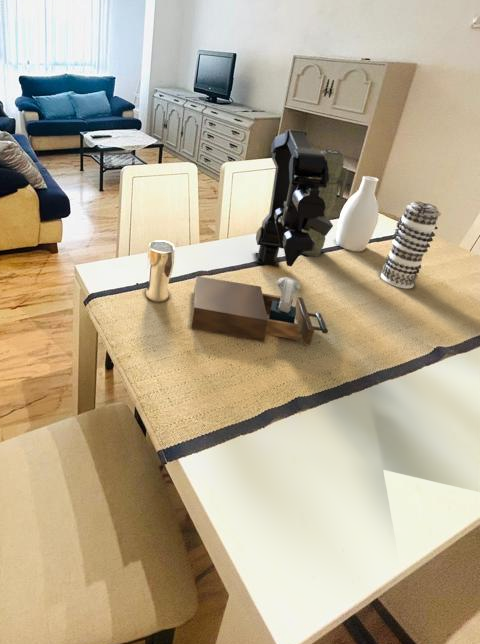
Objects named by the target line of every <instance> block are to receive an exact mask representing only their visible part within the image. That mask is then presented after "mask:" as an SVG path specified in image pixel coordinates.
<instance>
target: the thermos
mask: <svg viewBox="0 0 480 644" xmlns="http://www.w3.org/2000/svg"><path fill="white" fill-rule="evenodd" d="M320 152H321V153H322V154H323V155H324V156H325V159H326V160H327V164H328V170H329V181H328V182H327V187H326V188H324V187H319V191H320V192H319V195H320V196H321V197H322V199H323V200H324V202H325V210H324V213H325V215H324V217H327V219H329V220H330V217H331V213H332V210H333V208H334V207H335V205H336V202H337V201H339V200H342V199H343V196H344V192H345V189H346V185H347V182H348V180H349V176H350V172H349V170H348V168H346V167H344V165H345V164H344V161H345V157H344V156H345V155H344V153H343V152H342V151H341V150H337V149H331V148H325V149H322V150H321V151H320ZM342 172H344V175H343V178H342V183H341V186H340V189H339V183H340V181H339V180H340V178H341V176H342ZM311 178H312V179H321V177H320V178H313V177H311ZM302 232H305V233H309V235H310V236H311V237H312V239H313V241H314V243H315V245H314V248H313V250H312V251H304V252H302V253H301V254H302V255H305V256H309V257H319V256H320V255H321V254H322V250H323V248H324V246H325V242H326V236H323V235H321V233H319V232H317V231H315V230H313V229H311V228H310V231H306V230H304V229H302Z"/></svg>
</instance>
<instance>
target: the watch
mask: <svg viewBox="0 0 480 644" xmlns="http://www.w3.org/2000/svg"><path fill="white" fill-rule="evenodd" d="M276 284H277V285H278V287H279V291H280V292H281V294H280V296H281V298H280V302H277V301H274V300H273V301H272V305H271V309H270V314H269V319H271V320H277V321H282V322H288V323H295V322H296V321H295V320H296V307H295V305H291V301H292V299H293V297H294V295H295V294H296V293H297V292H299V291H300V288H301V283H300V282H299V281H298V280H297V279H294V278H292V277H285V276H284V277H280V278H279V279H278V280H276ZM292 302H293V301H292Z"/></svg>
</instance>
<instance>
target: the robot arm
mask: <svg viewBox="0 0 480 644" xmlns="http://www.w3.org/2000/svg"><path fill="white" fill-rule="evenodd" d="M270 154H271V160H272V162H273V164H274V166H275V172H274V179H273V185H272V192H271V198H270V205H269V212H268V214H267V215H266V217H265V218H264V219H263V220H262V222H261V226H260V227H259V228H258V229H257V230H256V234H255V241H256V245H257V246H259V247H258V248H259V249H258V252H255V254H254V255H255V256H254V257H255V259H256V263H257V264H258V265H263V266H269V267H275V268H276V267H277V268H279V267H280V265H279V261H278V255H279V252H280V251H279V250H280V249H283V252H284V257H285V262H286V266H287V267H292V266H294V263H295V262H296V260H297V259H298V258H299V256H300V255H301V254H302V252H304V251H312V250H313V248H314V245H315V243H314V241H313V239H312V237H311V236H310V235H309V233H305V232H302V229H304V230H306V231H310V228H311V229H313V230H315V231H317V232H319V233H321V235H323V236H325V237H326V236H327V235H328V234H329V232H330V231H331V229H332V228H333V227H334V224H333V223H332V222H331V220H330V218H329V219H327V217H324V215H325V213H324V210H325V202H324V200H323V199H322V197H321V196H320V195H319V192H320V191H319V187H324V188H326V187H327V182H328V181H329V170H328V164H327V160H326V159H325V156H324V155H323V154H322V153H321V151H319V150H316V149H313V147H312V146H311V144H310V141H309V140H308V138H307V132H306V131H304V130H302V129H301V130H300V129H286V130H285V131H284V133H281V134H279V135H276V136H275V137H274V139H273V141H272V142H271V147H270ZM312 177H313V178H320V177H321V179H312Z"/></svg>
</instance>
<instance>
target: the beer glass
mask: <svg viewBox="0 0 480 644" xmlns="http://www.w3.org/2000/svg"><path fill="white" fill-rule="evenodd" d="M175 251H176V247H175V245H174V244H173V243H171V242H170V241H167V240H162V239H160V240H159V239H158V240H153V241H151V242H150V243H149V245H148V252H147V258H146V270H147V279H148V283H147V287H146V290H145V296H146V297H147V298H148V299H149V300H150V301H153V302H157V303H158V302H160V303H161V302H164V301H166V300H167V299H169V282H170V279H171V276H172V273H173V270H174V264H175Z"/></svg>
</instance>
